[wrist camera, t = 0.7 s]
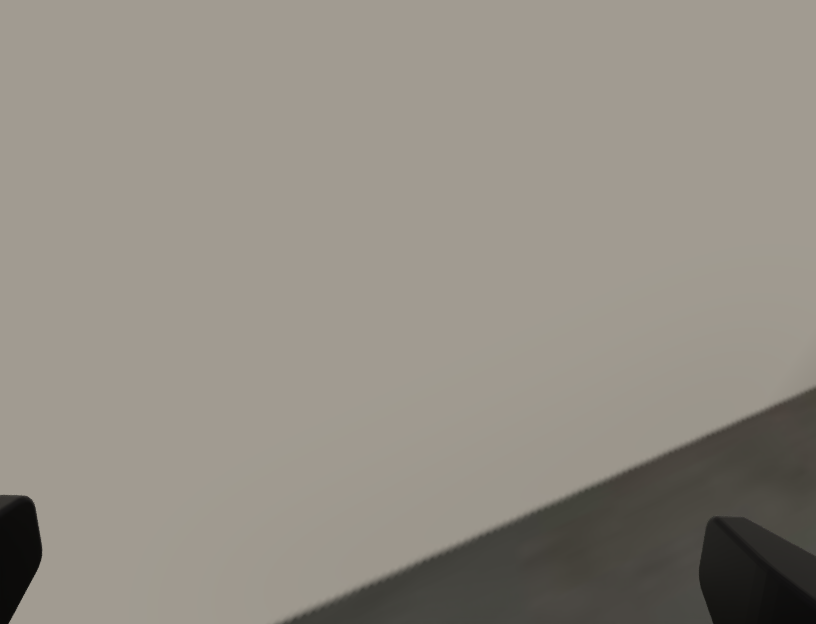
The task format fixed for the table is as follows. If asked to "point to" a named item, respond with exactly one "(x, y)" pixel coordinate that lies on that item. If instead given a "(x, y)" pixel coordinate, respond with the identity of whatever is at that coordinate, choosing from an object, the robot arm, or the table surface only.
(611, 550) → the table surface
